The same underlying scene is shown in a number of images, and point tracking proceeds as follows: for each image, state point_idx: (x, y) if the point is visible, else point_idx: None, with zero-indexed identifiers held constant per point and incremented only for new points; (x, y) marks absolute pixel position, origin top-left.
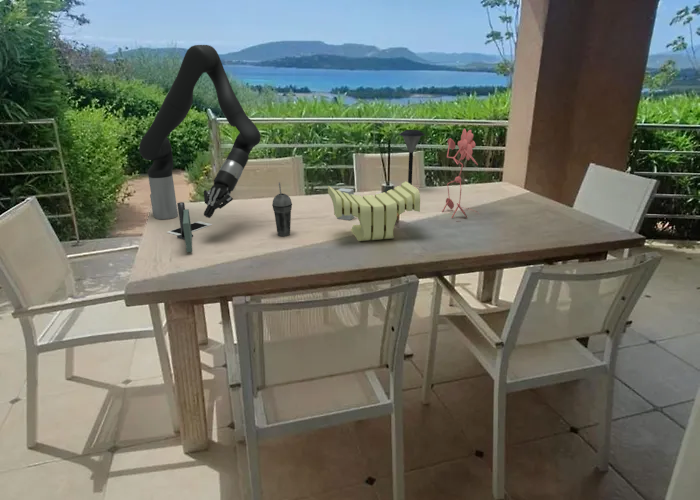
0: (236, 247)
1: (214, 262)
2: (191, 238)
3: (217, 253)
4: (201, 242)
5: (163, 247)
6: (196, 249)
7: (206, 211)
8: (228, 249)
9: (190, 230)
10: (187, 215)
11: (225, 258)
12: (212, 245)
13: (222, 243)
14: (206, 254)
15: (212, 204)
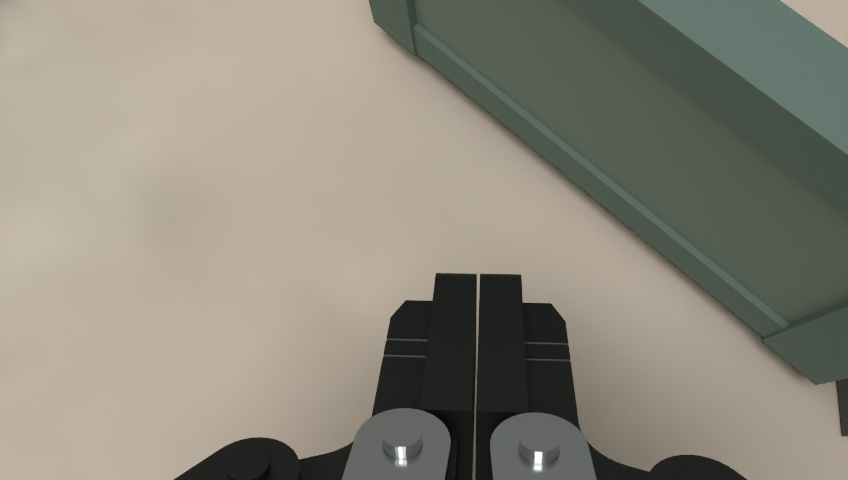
0: (98, 411)
1: (52, 8)
2: (641, 221)
3: (173, 176)
4: (577, 332)
5: (807, 19)
6: (451, 149)
7: (481, 311)
8: (141, 318)
9: (801, 317)
10: (683, 15)
11: (17, 122)
12: (387, 323)
13: (330, 432)
14: (255, 104)
15: (383, 437)
